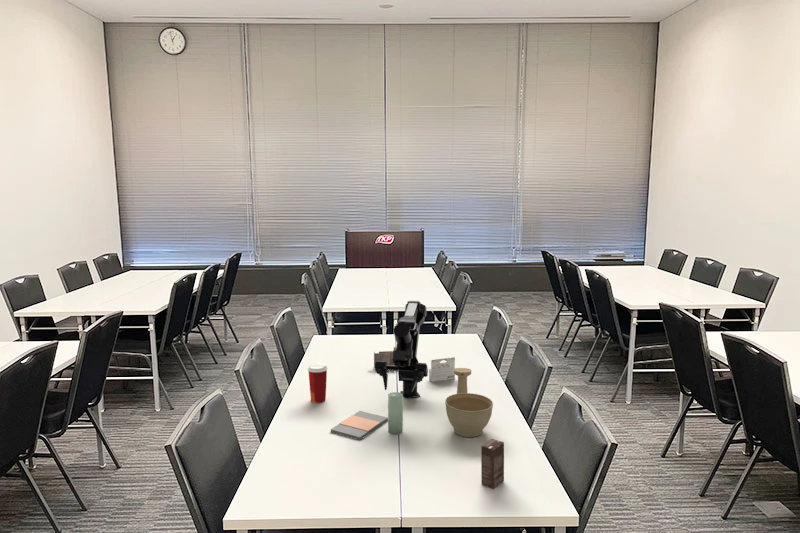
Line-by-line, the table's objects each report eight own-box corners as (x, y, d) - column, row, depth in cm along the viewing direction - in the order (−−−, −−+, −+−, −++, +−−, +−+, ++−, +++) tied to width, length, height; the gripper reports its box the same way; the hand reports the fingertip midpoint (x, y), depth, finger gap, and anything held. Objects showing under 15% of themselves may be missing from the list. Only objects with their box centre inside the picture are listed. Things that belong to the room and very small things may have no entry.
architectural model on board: (398, 366, 269) (398, 346, 268) (399, 368, 266) (399, 348, 265) (374, 367, 268) (373, 347, 266) (374, 369, 265) (374, 349, 263)
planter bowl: (488, 445, 192) (489, 413, 190) (440, 438, 197) (440, 407, 195) (495, 425, 207) (496, 395, 206) (450, 419, 212) (450, 390, 210)
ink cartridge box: (428, 380, 251) (429, 358, 250) (452, 377, 255) (453, 355, 253) (430, 382, 249) (431, 359, 247) (455, 379, 252) (455, 357, 251)
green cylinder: (386, 428, 204) (386, 393, 202) (400, 427, 206) (400, 391, 203) (390, 434, 200) (390, 398, 197) (404, 433, 201) (404, 396, 199)
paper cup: (331, 397, 231) (330, 363, 229) (322, 405, 224) (322, 370, 222) (313, 395, 234) (312, 361, 232) (304, 402, 227) (303, 367, 224)
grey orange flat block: (359, 413, 217) (359, 410, 217) (387, 420, 211) (387, 417, 211) (330, 432, 202) (330, 428, 201) (360, 440, 196) (360, 436, 196)
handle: (470, 411, 219) (471, 372, 216) (453, 410, 220) (453, 371, 217) (470, 406, 224) (471, 368, 221) (453, 405, 224) (454, 367, 222)
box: (490, 476, 173) (491, 437, 171) (504, 481, 170) (505, 442, 168) (479, 484, 168) (480, 445, 166) (493, 490, 166) (494, 450, 164)
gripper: (375, 338, 210) (368, 379, 201) (427, 341, 207) (423, 382, 198) (379, 353, 219) (373, 392, 210) (429, 356, 216) (425, 396, 207)
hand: (398, 390), depth 206 cm, fingers open, 9 cm apart
